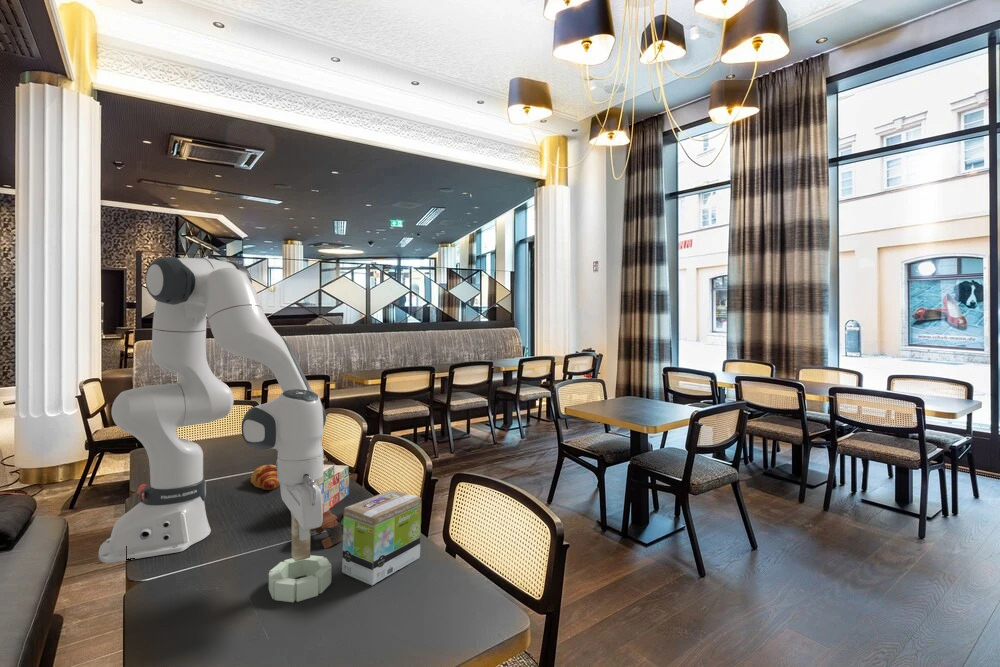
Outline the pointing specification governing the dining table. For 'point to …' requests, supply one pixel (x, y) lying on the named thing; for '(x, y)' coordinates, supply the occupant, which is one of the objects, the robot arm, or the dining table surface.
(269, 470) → the croissant
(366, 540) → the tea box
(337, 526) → the pottery mug
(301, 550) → the wooden block
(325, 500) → the stack of blocks
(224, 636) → the dining table surface
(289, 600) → the sage ring
